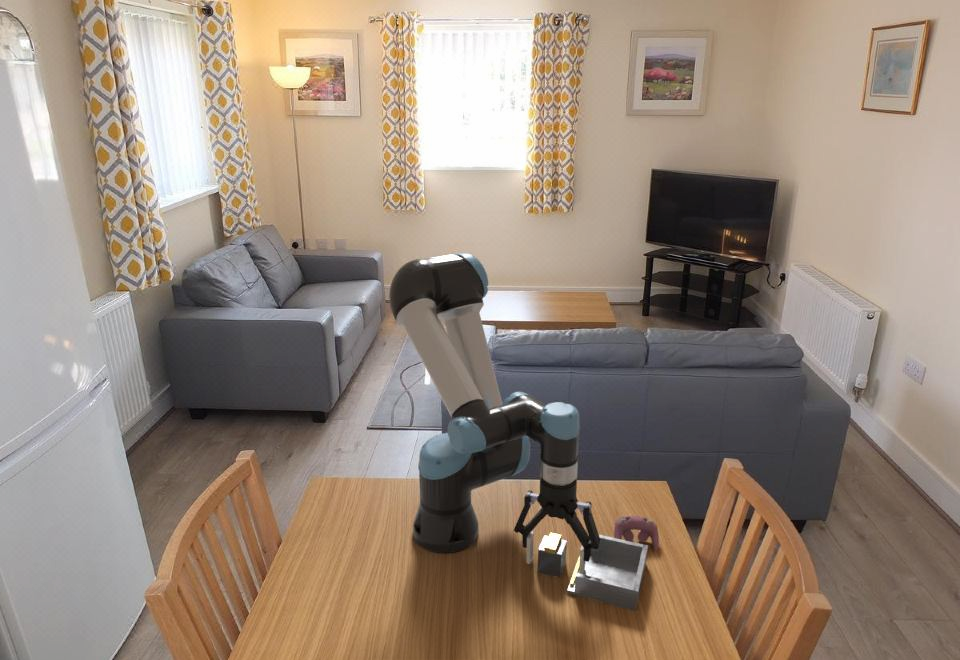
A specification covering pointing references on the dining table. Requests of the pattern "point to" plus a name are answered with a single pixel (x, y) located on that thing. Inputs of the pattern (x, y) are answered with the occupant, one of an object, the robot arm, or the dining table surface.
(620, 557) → the open box
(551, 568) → the grey and yellow block
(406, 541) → the dining table surface
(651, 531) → the video game controller
